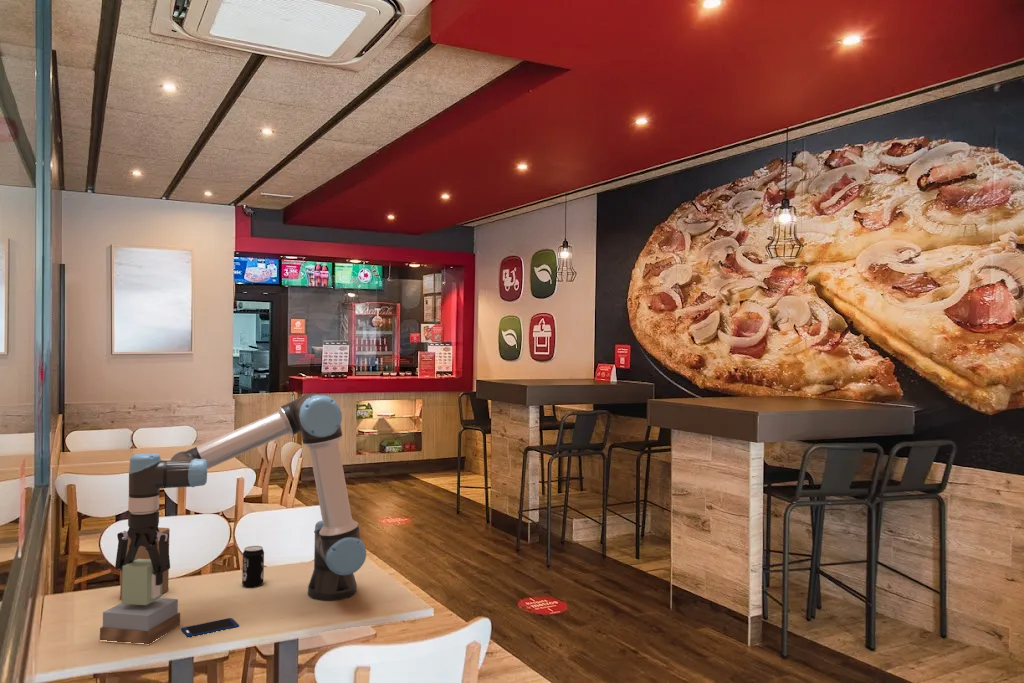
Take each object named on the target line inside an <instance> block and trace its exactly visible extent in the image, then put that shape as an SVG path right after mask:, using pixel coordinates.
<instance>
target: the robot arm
mask: <svg viewBox="0 0 1024 683" xmlns="http://www.w3.org/2000/svg"><path fill="white" fill-rule="evenodd" d="M342 414H343V413H342V410H341V408H340V405H339V404H338V403H337V401H335V399H333V398H332V397H331V396H328V395H325V394H321V393H317V392H310V393H306V394H303V395H302V396H299V397H297V398H295V399H293V400H292V401H290V402H288V403H286V404H283V405H281V406H279V408H278V409H277V411H276V412H273V413H271V414H269V415H267V416H264V417H262V418H260V419H257V420H255V421H253V422H251V423H248V424H245V425H243V426H240V427H238V428H237V429H234V430H231V431H230V432H227V433H225V434H222V435H220V436H218V437H215V438H212V439H211V440H208V441H206V442H204V443H202V444H200V445H198V446H197V445H196V446H195V447H192V448H191V449H188V450H186V451H184V450H183V451H178V452H176V453H175V454H174V455H173V456H172V457H171V459H170V460H163V459H162V458H161V455H160V454H159V453H157V452H156V453H155V452H151V453H150V452H143V453H136V454H133V455H132V456H131V457H130V459H129V468H128V510H127V511H128V512H129V513H128V514H127V519H128V520H127V526H128V530H127V531H126V530H124V531H121V532H118V533H117V541H118V544H117V550H116V558H115V563H114V564H115V565H114V568H115V570H119V571H120V572H121V571H122V572H123V566H124V565H126V564H128V563H131V562H133V561H134V559H135V556H136V553H137V551H138V548H139V547H140V546H143V547H145V548H146V550H147V551H148V553H149V556H150V559H151V563H152V566H153V569H154V572H155V573H153V574H152V591H151V598H152V599H154V598H156V597H158V596H159V595H160V585H161V584H162V583H163V572H164V571H166V570H168V569H169V570H170V569H171V561H170V547H169V548H168V539H169V540H170V532H169V533H166V534H164V533H160V532H159V529H158V528H159V523H160V511H159V509H160V489H169V488H170V489H172V488H173V489H174V488H195V487H201V486H205V485H206V484H207V481H208V470H209V469H212V468H213V467H216V466H218V465H221V464H222V463H224V462H225V463H226V462H228V461H229V460H232V459H234V458H236V457H238V456H240V455H244V454H245V453H247V452H250V451H252V450H254V449H257V448H259V447H261V446H263V445H266V444H267V443H270V442H272V441H274V440H277V439H279V438H282V437H283V436H286V435H289V436H294V435H296V434H298V433H300V434H301V439H302V440H301V441H302V444H303V445H304V446H305V447H307V448H308V449H309V456H310V460H311V465H312V471H313V476H314V481H315V482H314V483H315V488H316V492H317V497H318V503H319V508H320V515H321V520H319V521H317V522H316V523H315V525H314V531H313V532H314V554H313V555H314V557H313V559H314V561H313V563H314V566H313V568H314V569H313V572H312V575H311V577H310V580H309V583H308V586H307V595H308V597H310V598H311V597H312V599H315V600H320V601H321V600H322V601H337V600H338V601H339V600H342V599H347V598H350V597H353V596H355V594H356V593H357V590H358V589H357V587H358V585H357V581H356V577H355V573H357V572H358V571H359V570H360V569H361V568H362V567H363V565H364V564H365V561H366V559H367V549H366V545H365V543H364V542H363V540H362V536H361V530H360V527H359V522H357V521H356V520H354V519H353V518H352V511H351V506H350V505H351V504H350V500H349V494H348V493H349V492H348V490H347V488H348V487H347V483H346V477H345V473H344V472H345V470H344V467H343V460H342V455H341V450H340V443H339V442H340V441H341V439H342V438H343V432H342V426H341V425H342V424H341V423H342V420H343V415H342ZM157 537H158V541H159V552H158V549H157V542H156V538H157ZM128 538H130V539H131V543H130V545H129V550H128V553H127V556H126V552H127V545H128ZM151 544H152V545H151ZM150 545H151V546H150ZM159 554H160V555H159Z"/></svg>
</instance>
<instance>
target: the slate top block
mask: <svg viewBox="0 0 1024 683" xmlns="http://www.w3.org/2000/svg"><path fill="white" fill-rule="evenodd" d="M178 613H179V599H178V598H167V597H160V598H158V599H156V600H155V601H153V602H151V603H150V604H148V605H134V604H122V602H120V603H119V604H117V605H115V606H113V607H111V608H108V609H107V610H105V611H103V612H102V627H104V628H115V629H127V630H139V631H149V630H151V629H152V628H154V627H156V626H157V625H159V624H161V623H163V622H164V621H166V620H168V619H169V618H171V617H173V616H174V615H176V614H178Z"/></svg>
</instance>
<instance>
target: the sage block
mask: <svg viewBox="0 0 1024 683" xmlns="http://www.w3.org/2000/svg"><path fill="white" fill-rule="evenodd" d="M153 573H155V572H154V569H153V566H152V563H151V559H137V560H135V561H133V562H131V563H128V564H126V565H124V566H123V572H122V599H121V603H122V604H134V605H148V604H150V603H151V602H153V601H155V600H156V599H158V598H163V596H162V595H163V594H162V584H161V585H160V595H159V596H158V597H156V598H154V599H152V598H151V591H152V574H153Z"/></svg>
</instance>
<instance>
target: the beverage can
mask: <svg viewBox="0 0 1024 683" xmlns="http://www.w3.org/2000/svg"><path fill="white" fill-rule="evenodd" d="M263 548H264V547H263V546H261V545H251V546H250V545H249V546H246V547H244V548H243V549H244V550H243V552H242V568H241V569H242V572H241V573H242V574H241V575H242V577H241V580H242V581H241V583H242V585H243V586H244V587H245V586H246V587H245V588H249V587H252V588H255V587H254V586H258V585H260V586H262V585H261V584H264V578H265V576H264V575H265V574H264V571H265V567H264V566H265V551H264V549H263ZM258 587H259V586H258Z"/></svg>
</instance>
